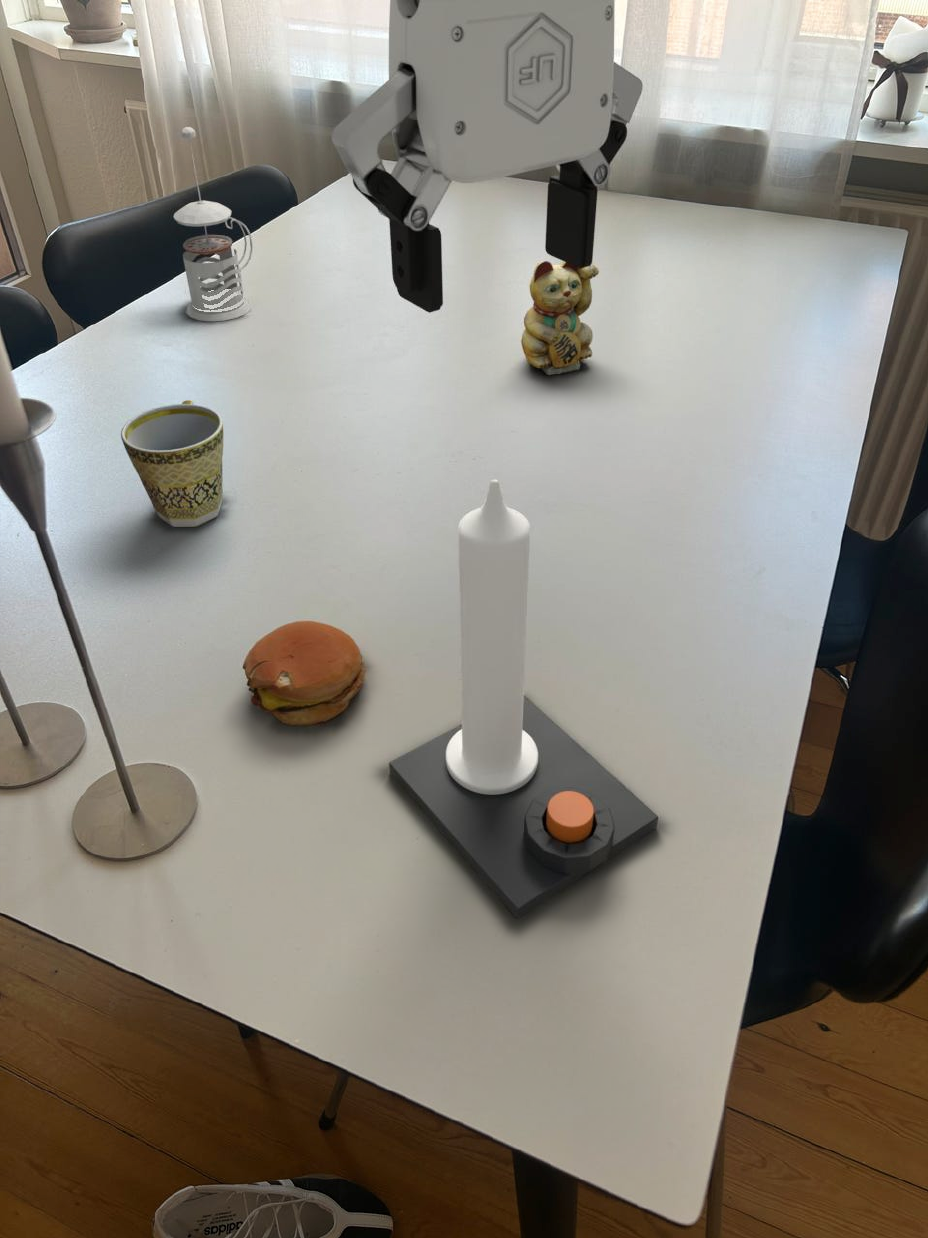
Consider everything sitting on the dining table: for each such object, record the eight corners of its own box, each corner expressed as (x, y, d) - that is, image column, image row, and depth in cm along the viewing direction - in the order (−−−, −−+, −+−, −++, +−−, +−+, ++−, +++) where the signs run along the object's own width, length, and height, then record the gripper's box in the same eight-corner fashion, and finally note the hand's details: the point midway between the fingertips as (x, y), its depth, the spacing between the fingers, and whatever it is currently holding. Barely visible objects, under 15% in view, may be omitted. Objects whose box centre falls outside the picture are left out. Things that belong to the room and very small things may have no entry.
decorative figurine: (538, 383, 125) (543, 268, 116) (506, 359, 131) (508, 247, 121) (599, 367, 129) (609, 253, 119) (566, 344, 134) (572, 234, 125)
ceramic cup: (229, 536, 99) (212, 450, 93) (132, 537, 99) (108, 452, 93) (249, 470, 109) (234, 389, 103) (161, 471, 109) (141, 390, 103)
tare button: (601, 828, 67) (603, 812, 66) (566, 851, 66) (568, 835, 65) (571, 799, 69) (573, 783, 68) (536, 820, 68) (537, 804, 67)
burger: (365, 647, 86) (361, 607, 83) (365, 723, 79) (360, 682, 76) (254, 654, 85) (245, 614, 82) (243, 731, 78) (233, 690, 75)
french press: (174, 307, 146) (136, 126, 130) (240, 287, 152) (212, 112, 136) (206, 326, 140) (171, 140, 124) (274, 305, 146) (249, 124, 130)
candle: (426, 758, 74) (411, 478, 58) (493, 713, 78) (496, 438, 62) (489, 811, 70) (492, 527, 54) (557, 761, 74) (578, 481, 58)
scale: (662, 832, 70) (667, 805, 68) (522, 925, 64) (523, 899, 62) (521, 702, 80) (522, 676, 79) (389, 772, 75) (387, 746, 73)
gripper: (368, -125, 33) (396, 348, 44) (718, -142, 41) (667, 265, 52) (268, -131, 38) (315, 297, 49) (598, -145, 45) (575, 228, 56)
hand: (497, 280), depth 50 cm, fingers open, 9 cm apart
